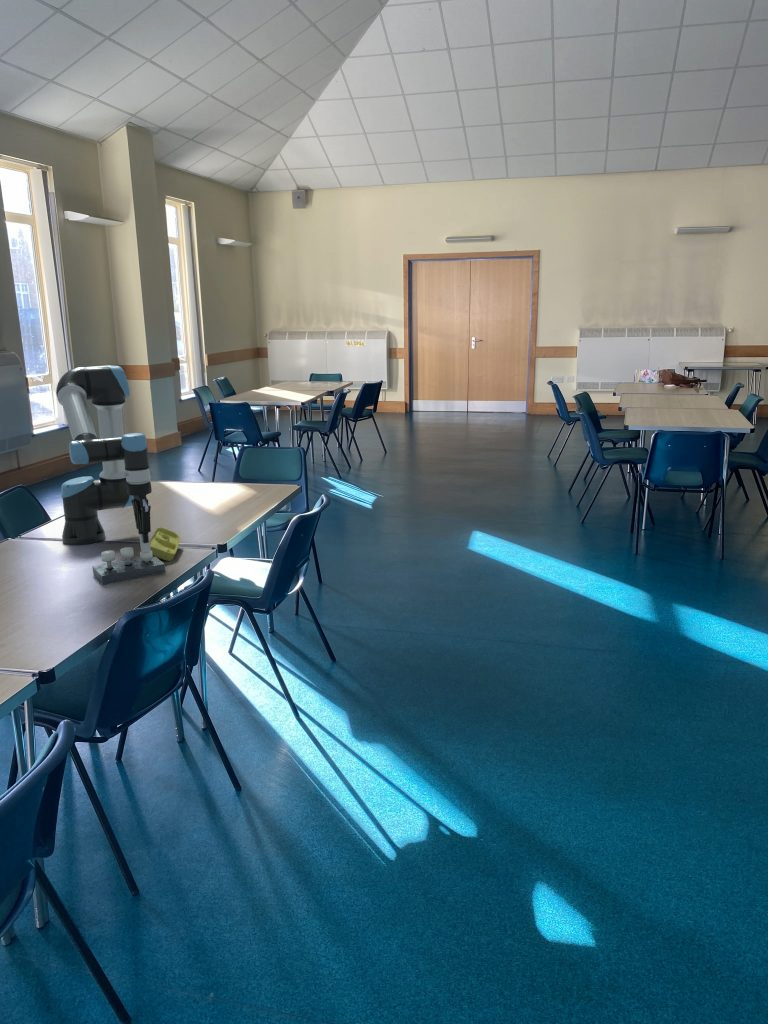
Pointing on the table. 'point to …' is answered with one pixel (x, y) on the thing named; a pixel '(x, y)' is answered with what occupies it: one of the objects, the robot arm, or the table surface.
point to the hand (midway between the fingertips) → (145, 551)
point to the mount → (128, 570)
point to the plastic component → (164, 543)
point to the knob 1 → (108, 558)
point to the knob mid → (127, 554)
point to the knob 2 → (146, 556)
